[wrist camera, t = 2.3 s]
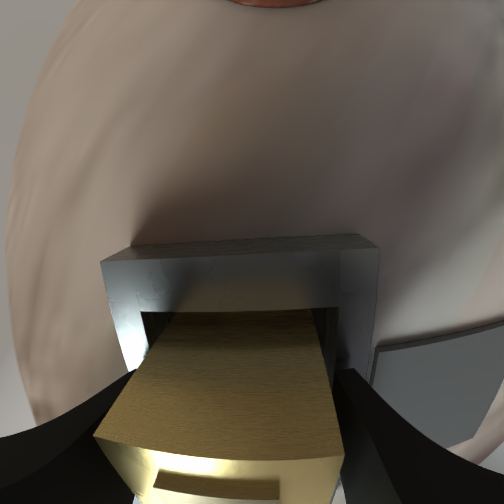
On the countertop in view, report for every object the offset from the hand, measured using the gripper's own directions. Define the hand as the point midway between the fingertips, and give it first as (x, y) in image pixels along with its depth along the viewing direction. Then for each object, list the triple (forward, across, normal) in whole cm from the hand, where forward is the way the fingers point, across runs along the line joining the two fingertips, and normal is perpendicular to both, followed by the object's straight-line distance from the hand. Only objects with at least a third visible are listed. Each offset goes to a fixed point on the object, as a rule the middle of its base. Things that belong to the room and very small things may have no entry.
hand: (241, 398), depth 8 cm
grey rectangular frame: (+2, 0, +4) cm, 5 cm away
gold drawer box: (+2, 0, 0) cm, 2 cm away
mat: (+2, -10, +4) cm, 11 cm away
